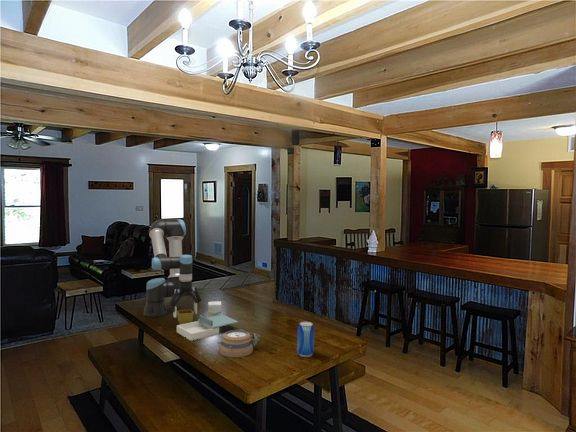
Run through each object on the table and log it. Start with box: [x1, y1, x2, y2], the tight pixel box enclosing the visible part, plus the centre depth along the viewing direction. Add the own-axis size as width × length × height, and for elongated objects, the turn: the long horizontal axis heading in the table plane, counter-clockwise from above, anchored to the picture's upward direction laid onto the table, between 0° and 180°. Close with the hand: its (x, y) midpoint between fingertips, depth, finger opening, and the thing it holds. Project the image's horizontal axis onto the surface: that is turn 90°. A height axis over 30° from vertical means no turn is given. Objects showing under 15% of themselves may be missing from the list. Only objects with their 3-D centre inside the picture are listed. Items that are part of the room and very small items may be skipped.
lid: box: [197, 313, 239, 328], centre depth 232 cm, size 18×17×4 cm
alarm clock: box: [217, 328, 261, 358], centre depth 202 cm, size 17×9×23 cm
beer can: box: [296, 321, 315, 358], centre depth 196 cm, size 8×8×16 cm
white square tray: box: [176, 320, 220, 342], centre depth 224 cm, size 18×18×4 cm
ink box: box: [207, 300, 222, 317], centre depth 247 cm, size 9×8×12 cm
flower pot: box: [176, 308, 194, 325], centre depth 236 cm, size 9×9×9 cm
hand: (185, 315), depth 235 cm, fingers open, 13 cm apart
